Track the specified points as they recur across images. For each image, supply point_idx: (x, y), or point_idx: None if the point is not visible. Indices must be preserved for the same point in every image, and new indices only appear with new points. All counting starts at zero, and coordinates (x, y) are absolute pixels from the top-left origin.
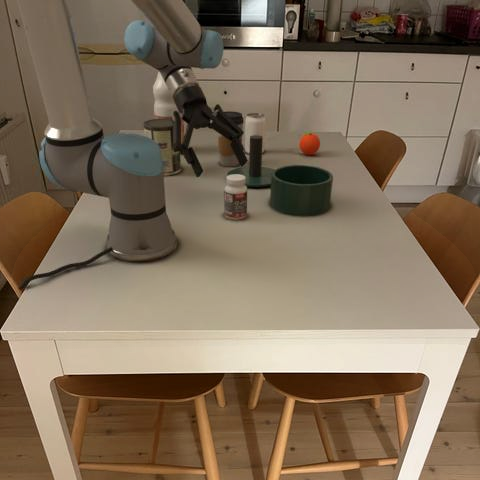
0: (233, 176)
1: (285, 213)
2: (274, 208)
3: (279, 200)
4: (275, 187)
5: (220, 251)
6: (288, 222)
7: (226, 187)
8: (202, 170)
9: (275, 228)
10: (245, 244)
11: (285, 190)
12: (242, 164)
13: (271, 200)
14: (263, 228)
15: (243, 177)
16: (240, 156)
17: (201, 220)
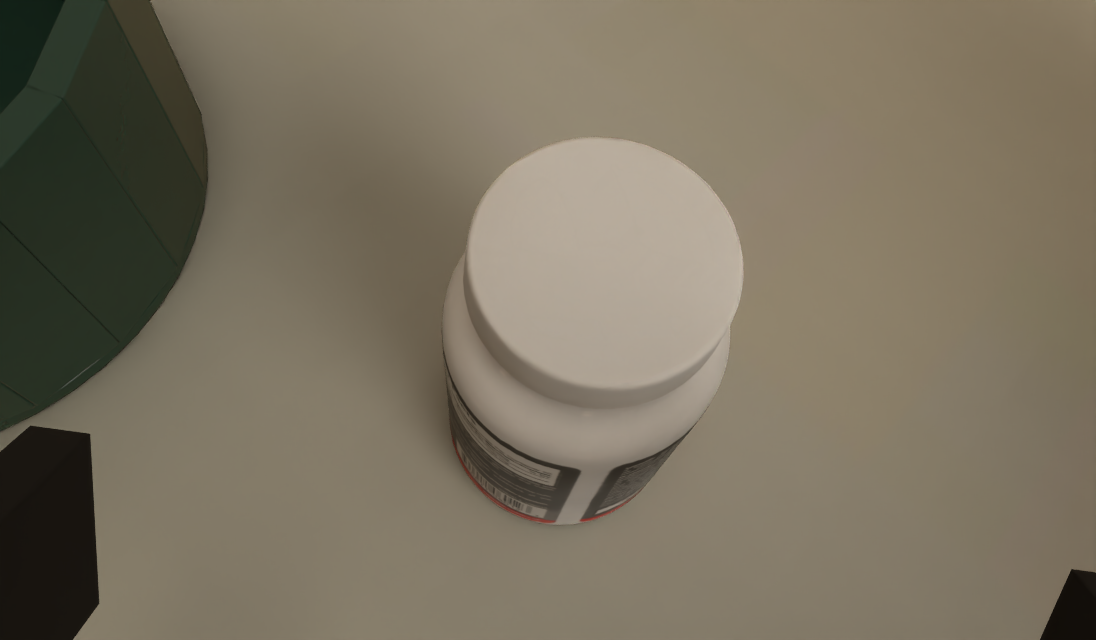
0: (611, 300)
1: (206, 152)
2: (178, 272)
3: (172, 157)
4: (104, 156)
5: (1037, 91)
6: (339, 50)
7: (713, 357)
8: (1092, 583)
9: (498, 55)
10: (842, 47)
11: (137, 22)
12: (94, 548)
13: (114, 315)
14: (565, 111)
15: (537, 177)
16: (8, 601)
17: (868, 569)
